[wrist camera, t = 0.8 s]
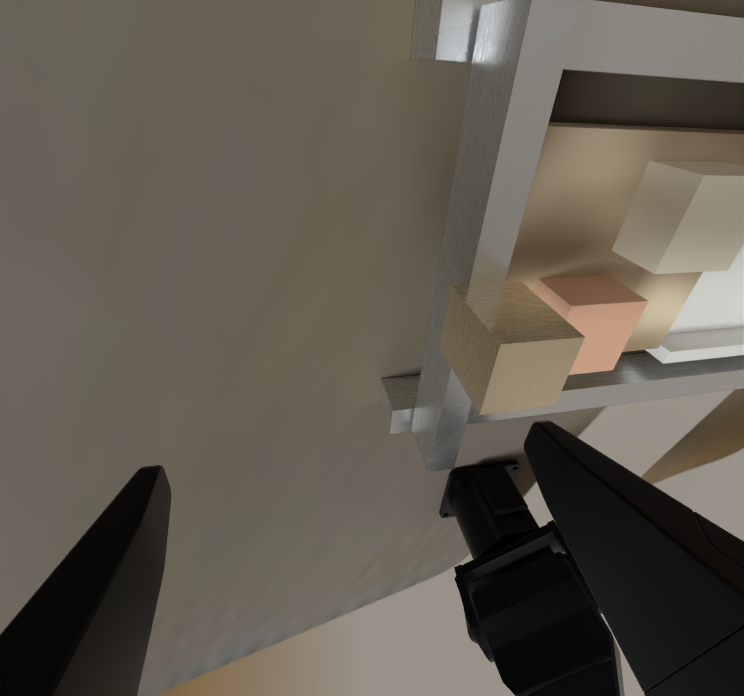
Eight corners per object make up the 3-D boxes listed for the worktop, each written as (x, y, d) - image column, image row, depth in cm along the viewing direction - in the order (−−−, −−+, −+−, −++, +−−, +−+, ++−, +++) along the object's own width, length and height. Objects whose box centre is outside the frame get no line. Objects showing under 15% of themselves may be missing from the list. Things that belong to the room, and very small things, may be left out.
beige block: (678, 248, 23) (727, 270, 20) (611, 250, 22) (654, 274, 19) (724, 162, 20) (785, 176, 18) (649, 160, 19) (704, 175, 17)
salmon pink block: (579, 340, 25) (612, 370, 23) (515, 346, 24) (543, 377, 22) (608, 275, 23) (648, 300, 20) (537, 279, 22) (571, 306, 19)
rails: (734, 361, 34) (770, 384, 31) (379, 401, 27) (390, 434, 25) (960, 54, 22) (1046, 53, 19) (416, -6, 15) (444, -18, 13)
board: (636, 332, 29) (658, 348, 27) (443, 349, 26) (454, 368, 24) (743, 130, 21) (781, 136, 20) (488, 118, 18) (509, 124, 17)
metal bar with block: (445, 425, 25) (498, 532, 19) (399, 431, 25) (441, 543, 19) (541, 12, 14) (742, -19, 8) (460, 3, 13) (614, -38, 7)
